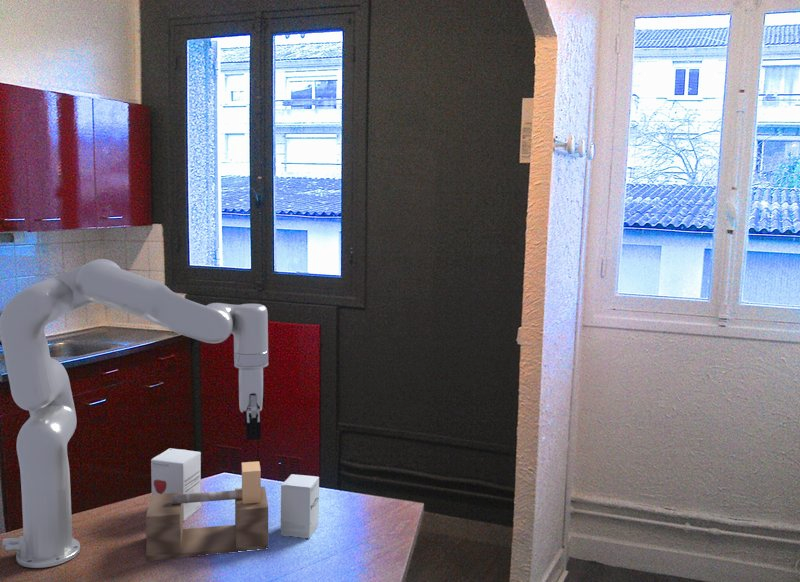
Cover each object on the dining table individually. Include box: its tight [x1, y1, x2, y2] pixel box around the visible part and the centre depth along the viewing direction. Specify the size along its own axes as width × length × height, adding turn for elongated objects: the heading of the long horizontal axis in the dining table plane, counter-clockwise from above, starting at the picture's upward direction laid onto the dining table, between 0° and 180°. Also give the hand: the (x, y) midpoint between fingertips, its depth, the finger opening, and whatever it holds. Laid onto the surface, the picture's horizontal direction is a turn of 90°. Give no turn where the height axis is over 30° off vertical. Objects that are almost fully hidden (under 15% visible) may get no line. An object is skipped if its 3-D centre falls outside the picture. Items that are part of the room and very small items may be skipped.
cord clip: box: [241, 461, 262, 504], centre depth 168 cm, size 4×6×8 cm, turn 14°
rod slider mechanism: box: [145, 486, 269, 562], centre depth 167 cm, size 26×12×12 cm, turn 104°
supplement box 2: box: [280, 473, 320, 540], centre depth 174 cm, size 7×7×13 cm
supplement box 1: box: [150, 447, 202, 522], centre depth 182 cm, size 9×9×15 cm
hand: (252, 432), depth 167 cm, fingers open, 9 cm apart
